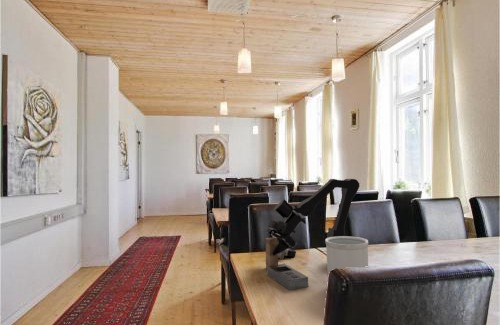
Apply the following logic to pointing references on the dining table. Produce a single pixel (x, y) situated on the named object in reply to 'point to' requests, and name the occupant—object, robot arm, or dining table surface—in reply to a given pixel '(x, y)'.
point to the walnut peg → (271, 251)
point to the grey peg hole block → (287, 276)
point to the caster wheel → (287, 253)
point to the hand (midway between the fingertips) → (268, 252)
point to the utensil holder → (346, 252)
